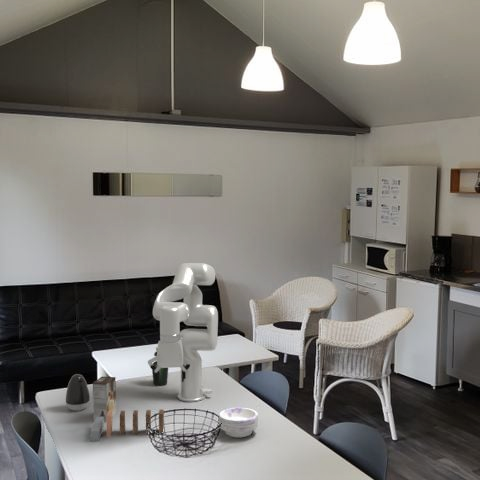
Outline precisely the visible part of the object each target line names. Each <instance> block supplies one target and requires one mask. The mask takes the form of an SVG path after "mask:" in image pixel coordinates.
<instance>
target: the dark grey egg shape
mask: <svg viewBox="0 0 480 480" xmlns="http://www.w3.org/2000/svg"><path fill="white" fill-rule="evenodd" d="M90 395H91V394H90V391H89V386H88V383H87V381H86V379H85V377H84V376H83V374H80V373H79V374H78V373H76V374H74V375H72V376H71V378H70V380H69V382H68V385H67V388H66V392H65V398H64V399H65V403H66V406H67V408H68V409H69V410H71V411H73V412H77V411H80V412H81V411H83V410H85V409H86V408H87V407H88V405H89V403H90V400H91V396H90Z"/></svg>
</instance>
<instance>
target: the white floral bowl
mask: <svg viewBox="0 0 480 480" xmlns="http://www.w3.org/2000/svg"><path fill="white" fill-rule="evenodd" d="M220 423H222V424H221V427H219V428H220V429H221V430H222V431H224V433H225V434H226V435H227V436H229V437H231V438H236V439H238V438H240V439H241V438H245V437H248V436H251V434H252V433H253V431H255V430H257V428H258V426H259V414H258V411H256V410H255V409H252V408H249V407H248V408H247V407H230V408H225V409H224V410H221V411H220V412H219V414H218V425H219V424H220Z"/></svg>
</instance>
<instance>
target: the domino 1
mask: <svg viewBox="0 0 480 480" xmlns="http://www.w3.org/2000/svg"><path fill="white" fill-rule="evenodd" d="M105 422H106V437H111V436H112V434H113V417H112V411H108V412H107V415H106V421H105Z"/></svg>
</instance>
